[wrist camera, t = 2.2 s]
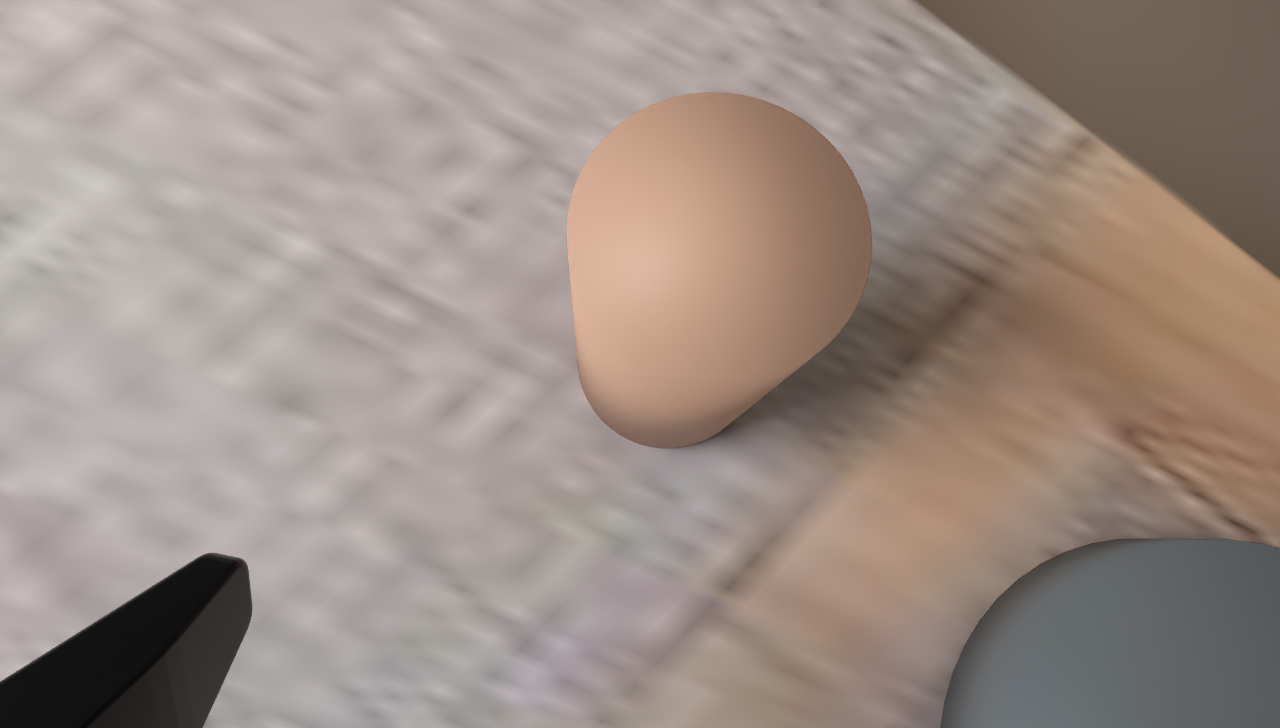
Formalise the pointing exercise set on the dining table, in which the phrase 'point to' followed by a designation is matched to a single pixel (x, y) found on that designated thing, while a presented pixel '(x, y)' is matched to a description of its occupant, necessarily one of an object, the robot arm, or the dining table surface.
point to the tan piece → (708, 262)
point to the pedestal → (1129, 641)
